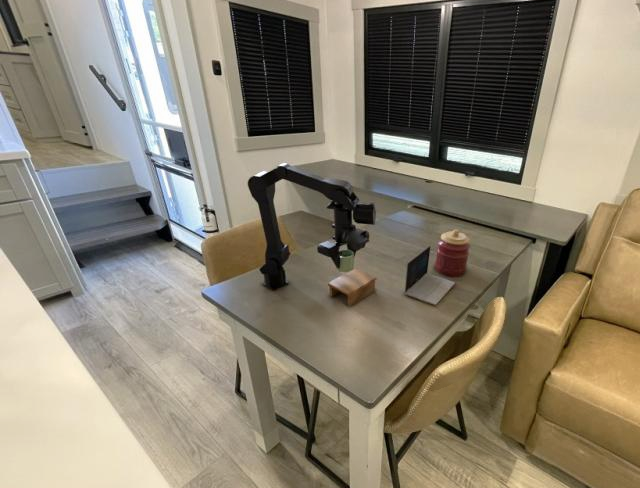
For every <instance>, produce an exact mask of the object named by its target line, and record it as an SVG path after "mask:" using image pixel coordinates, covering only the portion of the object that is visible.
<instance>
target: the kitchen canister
mask: <svg viewBox="0 0 640 488" xmlns="http://www.w3.org/2000/svg"><path fill="white" fill-rule="evenodd" d="M437 244H438V246H437V248H436V257H435V261H434V262H435V263H434V267H435V270H436V271H437V272H439V273H440V274H442V275H445V276H449V277H458V276H463V274H465V272H466V271H467V265H468V264H467V263H468V259H469V256H470V251H469V249H470V248H471V244H470V238H469V237H468V236H467V235H466V234H465V233H463V232H460V231H459V230H458V229H453V230H450V231H446V232H444V233H442V234H441V235H440V238H439V239H438V241H437Z"/></svg>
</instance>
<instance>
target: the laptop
mask: <svg viewBox="0 0 640 488" xmlns="http://www.w3.org/2000/svg"><path fill="white" fill-rule="evenodd" d="M430 254H431V245H428V246H427V247H426V248H424V250H421V252H420V253H418V254H417V255H416V256H414V257H413V258H412V259H410V260H409V261H408V262H406V263H407V264H406V273H405V285H404V295H406V296H408V297H411V298H414V299H417V300H420V301H422V302H425V303H427V304H432V305H434V306H437V304H438V303H439V302H440V301H441V300H442V299H443V298H444V296H445V295H447V293H448V292H449V291H450V290H451V289H452V288H453V287H454V285H455V284H456V282H455V281H452V280H449V279H446V278H443V277H440V276H438V275H434V274H431V273H428V268H429V262H430Z"/></svg>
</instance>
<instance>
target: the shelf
mask: <svg viewBox="0 0 640 488" xmlns="http://www.w3.org/2000/svg"><path fill="white" fill-rule="evenodd" d="M376 281H377V276H375V275H372V274H370V273H368V272H366V271H363V270H361V269H359V268H357V267H354V269H353V270H352V271H349V272H345V273H344V274H342V275H340V276H338V277H336V278H334V279H333V280H330V281H328V282H327V285H328V286H329V296H330V297H331V298H332V297H335V296H337V295H338V294H339V293H343V294H344V295H346V296H347V306H348V307H352V306H353V305H354V304H356V303H357V302H359V301H360V300H362V299H364V298H365V297H367V296H369V295H370V294H371V293H373V292H375V290H376Z"/></svg>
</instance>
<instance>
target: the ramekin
mask: <svg viewBox="0 0 640 488" xmlns="http://www.w3.org/2000/svg"><path fill="white" fill-rule="evenodd" d="M340 252H342V254H341V255H340V268H339V269H338V268H337V267H336V266H335V270H337V271H338V272H341V273H347V272H349V271H352V270H353V269H355V257H354V252H353V251H351V250H348V249H347V248H346V249H345V248H344V249H343V248H342V249H340Z"/></svg>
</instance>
